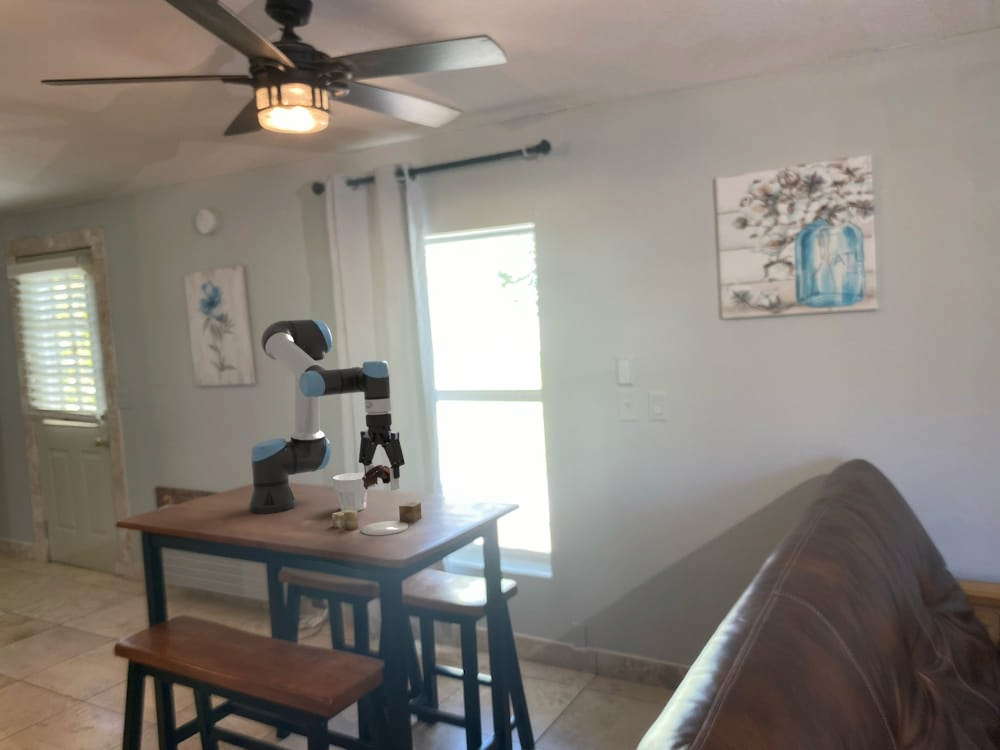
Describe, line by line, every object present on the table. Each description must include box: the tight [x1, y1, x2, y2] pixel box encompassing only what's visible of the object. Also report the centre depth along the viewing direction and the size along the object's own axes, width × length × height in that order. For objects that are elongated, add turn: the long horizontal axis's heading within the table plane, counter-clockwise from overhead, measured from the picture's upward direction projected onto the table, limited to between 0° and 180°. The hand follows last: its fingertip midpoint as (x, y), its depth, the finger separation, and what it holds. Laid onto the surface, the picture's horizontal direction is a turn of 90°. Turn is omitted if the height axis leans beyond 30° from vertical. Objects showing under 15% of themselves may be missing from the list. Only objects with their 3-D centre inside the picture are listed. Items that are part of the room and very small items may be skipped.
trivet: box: [360, 520, 409, 537], centre depth 218 cm, size 14×14×1 cm
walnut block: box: [398, 501, 422, 523], centre depth 227 cm, size 5×5×5 cm
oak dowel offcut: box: [344, 510, 359, 531], centre depth 220 cm, size 4×4×5 cm
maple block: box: [331, 510, 351, 529], centre depth 225 cm, size 4×6×4 cm, turn 135°
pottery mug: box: [362, 464, 398, 491], centre depth 218 cm, size 12×10×8 cm
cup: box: [332, 472, 369, 512], centre depth 245 cm, size 12×12×11 cm
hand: (382, 487), depth 217 cm, fingers closed on pottery mug, 9 cm apart
